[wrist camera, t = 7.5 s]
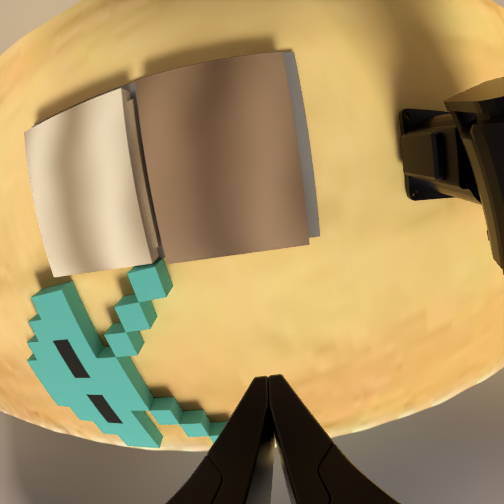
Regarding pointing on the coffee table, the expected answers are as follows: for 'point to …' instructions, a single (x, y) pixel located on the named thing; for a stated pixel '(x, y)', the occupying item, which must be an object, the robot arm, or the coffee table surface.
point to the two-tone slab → (227, 156)
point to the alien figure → (107, 361)
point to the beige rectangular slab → (92, 187)
